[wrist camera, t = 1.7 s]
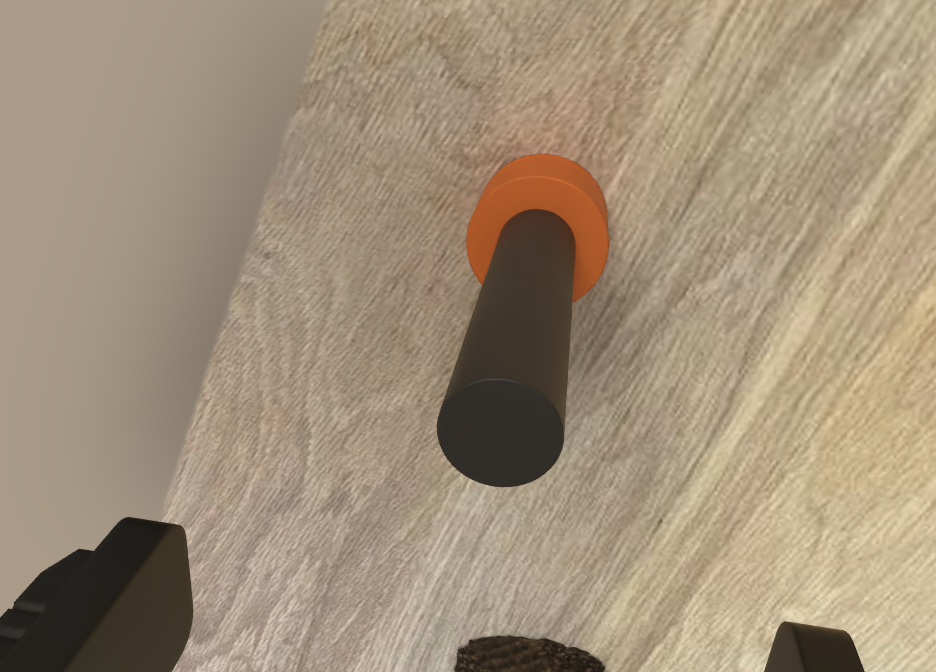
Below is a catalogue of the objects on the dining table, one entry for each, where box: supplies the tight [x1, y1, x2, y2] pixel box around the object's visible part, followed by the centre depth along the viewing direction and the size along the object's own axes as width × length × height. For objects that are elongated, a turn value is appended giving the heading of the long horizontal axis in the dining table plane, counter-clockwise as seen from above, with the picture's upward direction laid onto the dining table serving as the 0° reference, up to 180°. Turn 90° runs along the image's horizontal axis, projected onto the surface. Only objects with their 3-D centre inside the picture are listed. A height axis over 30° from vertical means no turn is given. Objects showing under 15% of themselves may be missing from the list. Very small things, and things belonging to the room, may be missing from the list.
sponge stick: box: [437, 154, 609, 487], centre depth 21 cm, size 4×4×14 cm
